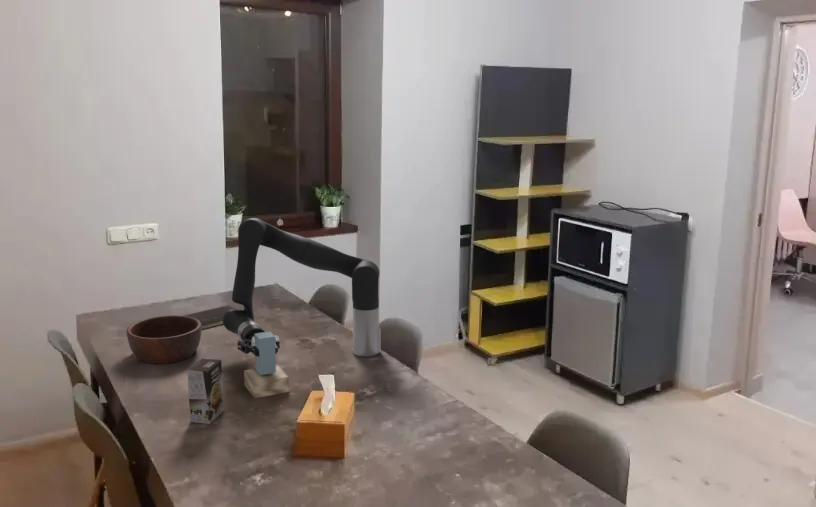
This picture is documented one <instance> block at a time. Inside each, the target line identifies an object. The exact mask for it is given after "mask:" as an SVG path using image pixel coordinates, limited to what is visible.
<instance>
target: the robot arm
mask: <svg viewBox="0 0 816 507" xmlns="http://www.w3.org/2000/svg"><path fill="white" fill-rule="evenodd" d="M237 237H238V238H237V242H238V243H237V244H238V246H237V247H238V251H237V262H236V269H235V276H234V280H233V288H232V294H231V300H232V302H233V303H235V304H238V305H242V306H243V309H237V310H234V309H231V310H228V311H226V312H225V314H224V316H223V324H222V325H223V326H224V328H225V329H226V330H228V332H231V333H233V334H235V335H237V336H238V337H239V339H240V340H237V341H236V342H237V343H236V344H237V345H236V346H237V350H239V351H240V352H241V353H243V354H245V355H249V354H250V353H251V354H252V355H254V356H257V357H259V350H258V348H257V347H256V346H255V335H254V334H256V333H262V332H266V331H265V330H264V329H263V328H262V327H261V326H260V324H258V323H257V322H256V321H255V317H254V308H253V306H254V305H253V298H254V297H253V296H254V291H255V283H256V262H257V256H258V251H259V250H260V246H263V247H266V248H270V249H271V250H272V249H273V250H275V251H277V252H279V253H281V254H282V255H284V256H285V257H286V258H289V259H290V260H291V261H294V262H296V263H298V264H301V265H303V266H306V267H309V268H311V269H314V270H318V271H319V270H320V271H326V272H327V271H328V272H333V273H339V274H341V275H344V276H346V277H349V278H350V279H351V299H352V353H353V354H354V355H355V356H358V357H363V358H364V357H365V358H366V357H368V358H369V357H373V356H376V355H378V354H380V353H382V352H381V351H382V350H381V348H382V346H381V345H382V343H381V342H382V335H381V334H382V328H381V326H379V324H380V321H379V320H380V318H379V315H380V314H379V310H380V309H379V305H380V302H379V301H380V300H379V297H380V296H379V283H380V282H379V278H380V269H379V267H378V265H377V264H376V263H374V261H371V260H368V259H364V258H362V257H361V258H360V257H356V256H354V255H353V256H352V255H350V254H347V253H344V252H342V251H340V250H337V249H335V248H333V247H331V246H328V245H325V244H323V243H321V242H318V241H316V240H313V239H310V238H308V237H304V236H301V235H299V234H295V233H292V232H288V231H285V230H282V229H280V228H278V227H275V226H273V225H271V224H270V223H268V222H266V221H263V220H262V219H260V218H257V217H250V218H247V219H244V220H243V221H242V222H241V223H240V224H239V226H238V228H237ZM274 336H275V355H276V354H278V352H279V349H281V346H280V343H281V341H280V336H279V335H278V334H274Z"/></svg>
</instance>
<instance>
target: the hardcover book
mask: <svg viewBox="0 0 816 507" xmlns="http://www.w3.org/2000/svg"><path fill="white" fill-rule="evenodd" d="M231 309H234V310H238V309H237V308H234V307H233V306H230V305H228V304H227V305H223V306H219V307H215V308H209V309H206V310H203V311H197V312H193V313H189V314H184V315H183V316H188V317H192V318H195V319H197V320H199V321H200V322H201V325H202V326H201V330H203V329H208V328H213V327H217V326H220V325H224V324H223V316H224V314H225V312H226V311H228V310H231Z"/></svg>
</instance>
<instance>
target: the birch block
mask: <svg viewBox="0 0 816 507" xmlns="http://www.w3.org/2000/svg"><path fill="white" fill-rule="evenodd" d="M243 370H244V369H243ZM243 373H244V374H243V375H244V386H245V388H246V389H247V390H248V392H249V393H250V394H251V396H252V398H254V399H258V398H264V397H268V396H273V395H274V396H275V395H279V394H280V395H281V394H283V393H288V392H290V382H289V380H290V379H289V378H290V376H289V375H288V374H287V373H286V372H285V371H284V370H283V368H282V367H280V366H279V364H278V363H276V373H270V374H265V375H260V374H259V373H258V372H257V370H256V367H255V368H250V369H245V370H244V371H243Z"/></svg>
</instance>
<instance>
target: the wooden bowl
mask: <svg viewBox="0 0 816 507" xmlns="http://www.w3.org/2000/svg"><path fill="white" fill-rule="evenodd" d="M201 326H202V325H201V322H200V321H199V320H197V319H195V318H192V317H188V316H184V315H180V314H179V315H175V314H174V315H171V314H170V315H157V316H154V317H153V316H152V317H148V318H144V319H141V320H138V321H136V322H134V323H132V324H130V325H129V326H128V327H127V328H126V337H127V341H128V345H129V348H130V351H131V352H132V354H133V355H134V357H136V359H137V360H139V361H141V362H143V363H148V364H154V365H155V364H156V365H157V364H171V363H177V362H180V361H183V360H186V359H187V358H190V357H192V356H193V355H194V354H195V352H197V349H198V348H199V346H200V342H201V336H202V329H201Z"/></svg>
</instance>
